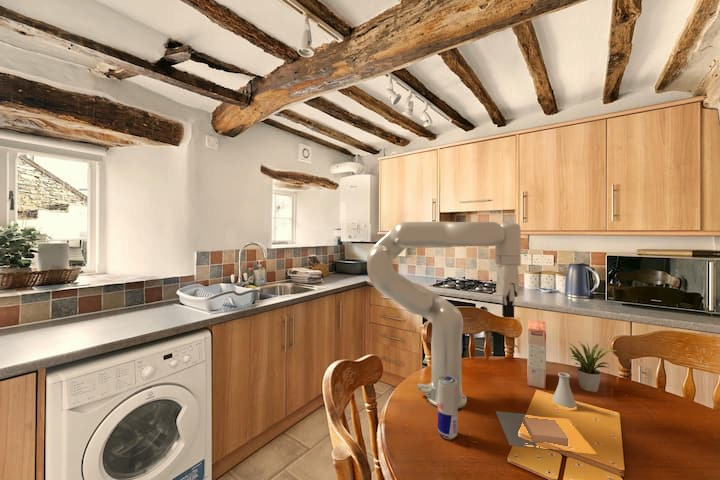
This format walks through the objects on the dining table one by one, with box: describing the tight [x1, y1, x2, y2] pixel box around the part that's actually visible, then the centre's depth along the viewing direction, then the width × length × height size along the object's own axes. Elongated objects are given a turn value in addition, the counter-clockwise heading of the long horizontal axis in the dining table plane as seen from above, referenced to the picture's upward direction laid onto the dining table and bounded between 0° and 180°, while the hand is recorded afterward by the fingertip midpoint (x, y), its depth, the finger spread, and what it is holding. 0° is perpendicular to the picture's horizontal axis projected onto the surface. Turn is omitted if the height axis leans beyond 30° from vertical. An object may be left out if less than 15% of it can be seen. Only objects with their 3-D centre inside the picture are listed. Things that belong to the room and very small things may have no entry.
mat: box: [495, 410, 540, 449], centre depth 85 cm, size 20×16×1 cm
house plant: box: [568, 340, 617, 393], centre depth 110 cm, size 14×14×16 cm
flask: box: [551, 372, 578, 408], centre depth 98 cm, size 7×7×10 cm
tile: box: [523, 417, 568, 446], centre depth 83 cm, size 8×2×8 cm
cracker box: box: [527, 319, 547, 390], centre depth 116 cm, size 14×6×21 cm, turn 150°
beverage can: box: [437, 376, 459, 440], centre depth 84 cm, size 5×5×15 cm
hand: (508, 316), depth 102 cm, fingers closed
